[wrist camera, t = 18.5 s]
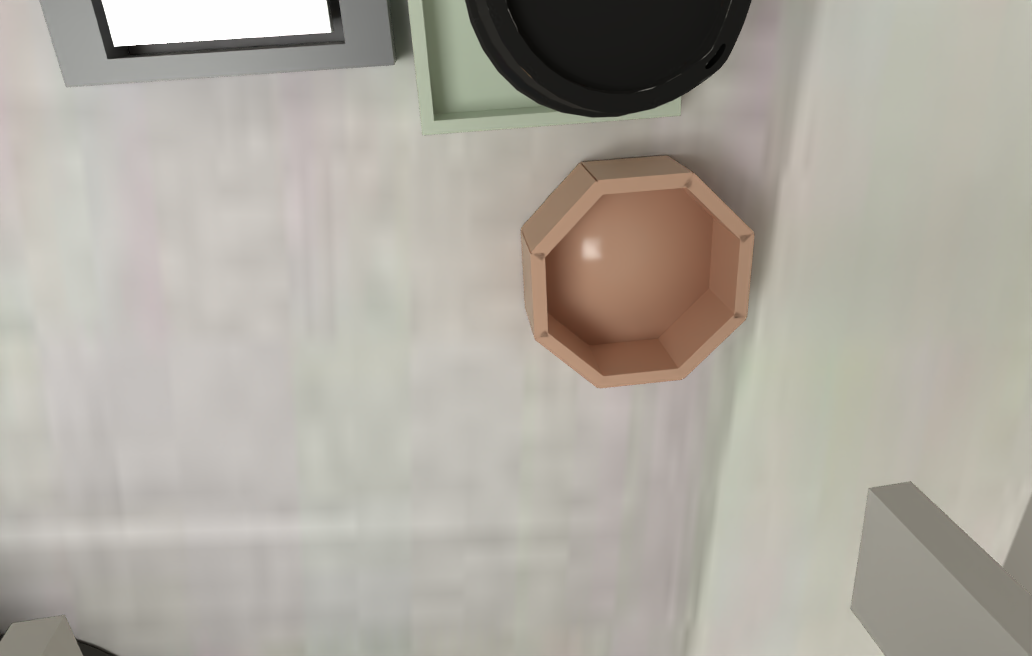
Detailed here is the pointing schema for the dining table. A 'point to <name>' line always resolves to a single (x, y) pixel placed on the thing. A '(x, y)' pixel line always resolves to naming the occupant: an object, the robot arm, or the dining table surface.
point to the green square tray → (476, 79)
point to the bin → (635, 271)
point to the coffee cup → (606, 49)
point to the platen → (213, 19)
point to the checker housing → (97, 61)
